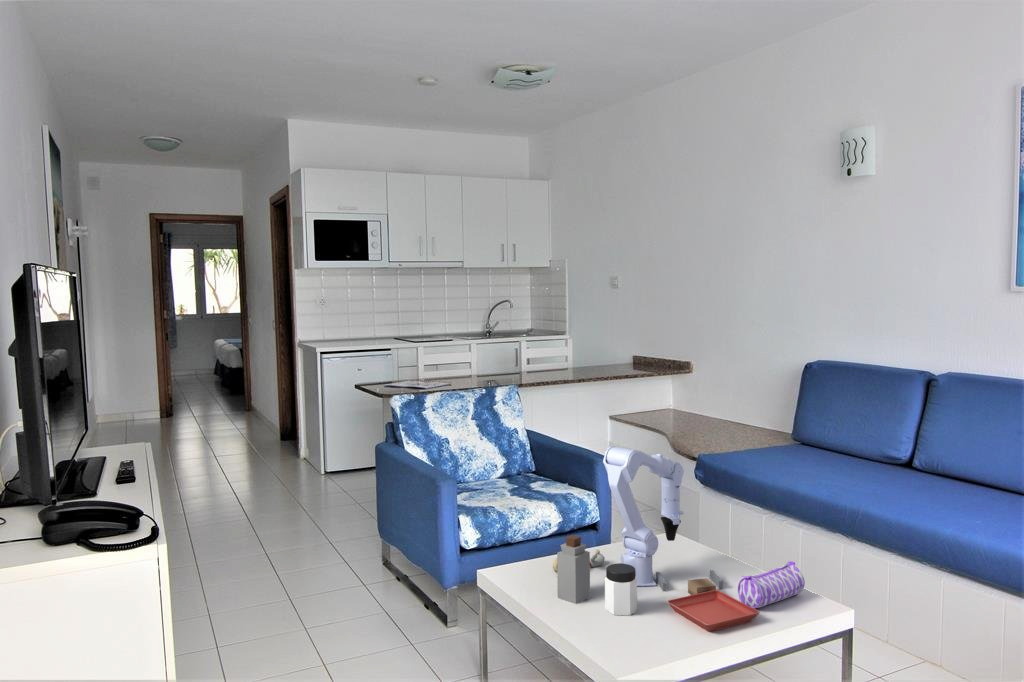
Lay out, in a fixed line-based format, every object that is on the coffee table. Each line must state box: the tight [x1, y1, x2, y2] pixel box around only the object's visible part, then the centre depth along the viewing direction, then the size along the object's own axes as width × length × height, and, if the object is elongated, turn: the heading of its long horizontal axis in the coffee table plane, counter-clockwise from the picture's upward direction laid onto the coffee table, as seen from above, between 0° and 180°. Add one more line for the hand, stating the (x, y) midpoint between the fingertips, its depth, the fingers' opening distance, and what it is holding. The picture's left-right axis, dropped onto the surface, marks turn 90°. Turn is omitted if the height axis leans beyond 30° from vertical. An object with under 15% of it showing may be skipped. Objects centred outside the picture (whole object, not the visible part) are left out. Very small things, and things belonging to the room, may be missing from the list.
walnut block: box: [687, 578, 717, 596], centre depth 227 cm, size 6×6×4 cm
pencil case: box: [737, 560, 805, 609], centre depth 222 cm, size 22×9×10 cm, turn 127°
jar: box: [604, 562, 638, 617], centre depth 217 cm, size 9×8×12 cm
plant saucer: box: [666, 589, 760, 632], centre depth 212 cm, size 18×18×3 cm
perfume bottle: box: [556, 534, 591, 605], centre depth 226 cm, size 7×7×18 cm
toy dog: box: [552, 549, 606, 573], centre depth 248 cm, size 12×19×9 cm, turn 146°
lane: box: [655, 569, 723, 592], centre depth 235 cm, size 18×9×2 cm, turn 93°
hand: (670, 540), depth 248 cm, fingers closed
